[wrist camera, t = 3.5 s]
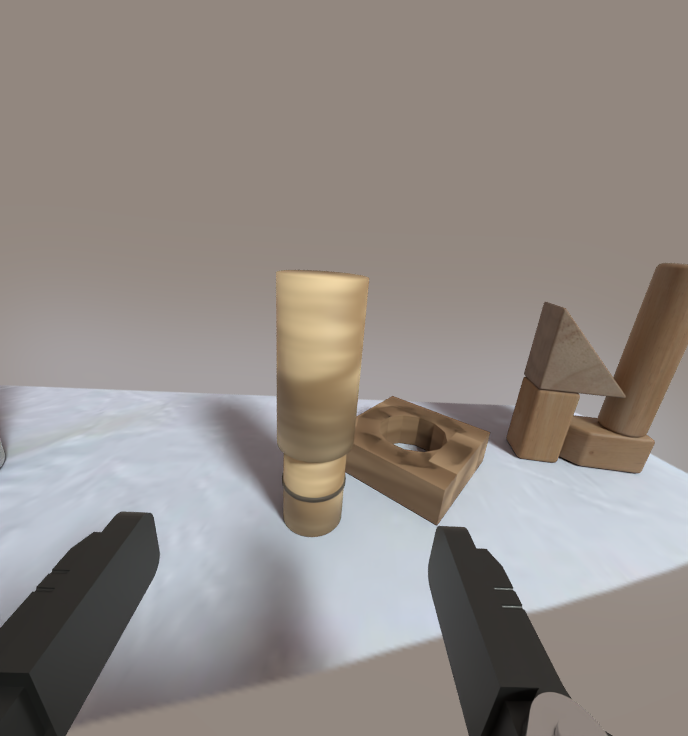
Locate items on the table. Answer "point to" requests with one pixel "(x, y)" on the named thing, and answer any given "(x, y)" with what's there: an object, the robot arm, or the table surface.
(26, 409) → the table surface
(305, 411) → the oak leg
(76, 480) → the table surface
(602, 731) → the robot arm
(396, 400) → the square wooden ring
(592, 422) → the wooden block
